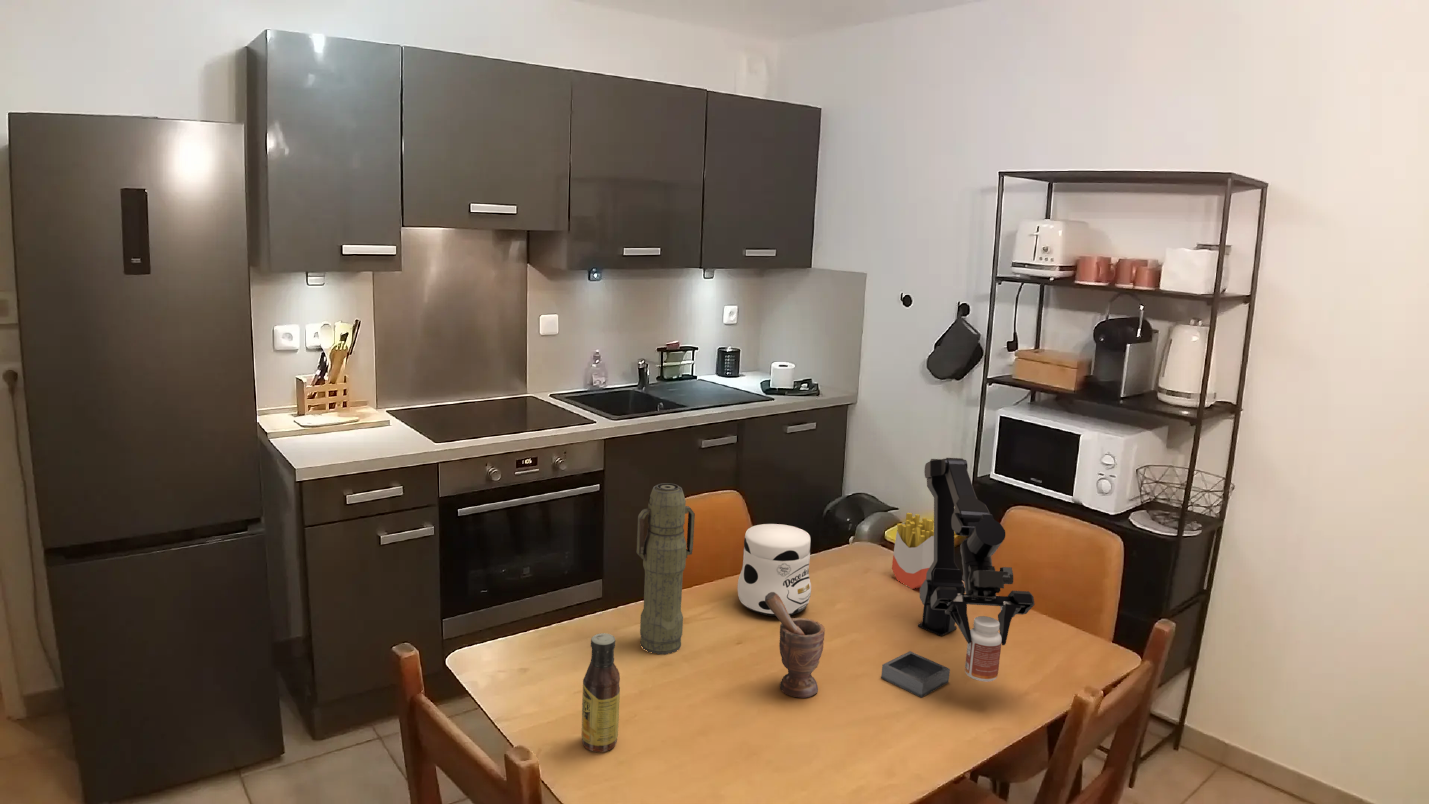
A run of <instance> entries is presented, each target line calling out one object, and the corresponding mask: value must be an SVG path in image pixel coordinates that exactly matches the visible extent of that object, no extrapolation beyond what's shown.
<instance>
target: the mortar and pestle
mask: <svg viewBox="0 0 1429 804" xmlns="http://www.w3.org/2000/svg"><path fill="white" fill-rule="evenodd" d="M765 602H766V604H767V605H768V607H769V608H770V610H771V611H772V612H773V613H774V614H775V615H776V616H775V617H776V618H777V620H778V621H779V622H780V625H779V626H780V627H779V645H778V647H779V654H780V657H781V663H782V665H783V667H784V668H786V669H787V673H786V674H785V675H783V677H782V678H781V680H780V682H779V687H780V690H781V692H782V693H784V694H785V695H787V696H789V697H794V698H810V697H813V696H814V695H815V694H817V693H818V692H819V687H818V682H817V680H816V679H815V678H814V676H812V673H813V672H814V671H815V670H816V669H817V668H818V666H819V664H820V659H821V657H822V655H823V654H822V653H823V650H824V641H825V631H826V630H825V629H826V628H825V626H824V625H823V624H822V623H821V622H818V621H816V620H814V619H809V618H805V617H804V618H803V617H795V618H794V617H791V615H789V614H788V612H787V610H786V608H785V606H784V604H783V602H782V600H781V598H780V597H779V596H778V595H777V594H776V593H775V592H770V593H768V594H767V595H766V596H765Z"/></svg>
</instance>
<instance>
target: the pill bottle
mask: <svg viewBox="0 0 1429 804" xmlns="http://www.w3.org/2000/svg"><path fill="white" fill-rule="evenodd" d="M999 627H1000V623H999V621H998V619H996V618H993V617H991V616H984V615H980V616H976V617H975V618H973V627H972V628H971V629H970V633H971V643H970V644H969V643H967V645H966V646H967V647H966V654H965V655H966V656H965V662H964V663H965V665H964V672H965V674H966V675H967V677H969V678H970V679H973V680H976V681H979V682H986V683H987V682H993V681H995V680H996V679H997V678H998V675H999V667H1000V658H1001V650H1002V637H1001V635H1000V631H999Z"/></svg>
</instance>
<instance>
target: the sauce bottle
mask: <svg viewBox="0 0 1429 804" xmlns="http://www.w3.org/2000/svg"><path fill="white" fill-rule="evenodd" d="M590 648H591V655H590V657H591V658H590V662H589V664H588V668H587V670H586V672H585V674H584V677H583V679H582V704H581V705H582V706H581V740H582V741H581V742H582V745H583V747H584V748H585V749H586V750H587V751H589V752H595V753H605V752H609V751H611V750H613V749H614V748H615V746H616V744H617V743H618V737H619V720H620V719H619V717H620V698H621V696H620V695H621V690H620V689H621V687H620V682H621V678H620V677H621V676H620V672H619V669H618V668H617V666H616V665H615V662H614V661H615V657H614V656H615V654H614V652H615V648H616V638H615V636H614V635H612V634H611V633H604V632H603V633H597V634H595V635H593V636H592V637H591V639H590Z"/></svg>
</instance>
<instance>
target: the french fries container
mask: <svg viewBox="0 0 1429 804" xmlns="http://www.w3.org/2000/svg"><path fill="white" fill-rule="evenodd" d="M920 516H921V515H920V514H919V513H918V514H916V513H915V516H913V513H912V512H906V514H905V522H902V523H896V526H897V529H896V534H895V535H896V536H895V541H894V548H893V555H892V563H891V564H892V565H891V570H892V573H893V574H894V576H895V578H896V580H898V581H900V582H901V583H900V582H899V583H900V584H902V583H904V584H905V585H907V586H909V587H910V588H909V587H908V588H909V589H911V588H912V589H911V590H915V588H916V589H920V587H921V586H922V584H923V582H924V581H925V580H926V573H927V571H928V569H929V568H930V566H931V565H932V563H933V561H934V519H933V520H932V519H928V518H927V517H922V521H920V520H921V519H920V518H921V517H920ZM898 581H897V582H898ZM905 585H904V586H905ZM907 586H906V587H907Z"/></svg>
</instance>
